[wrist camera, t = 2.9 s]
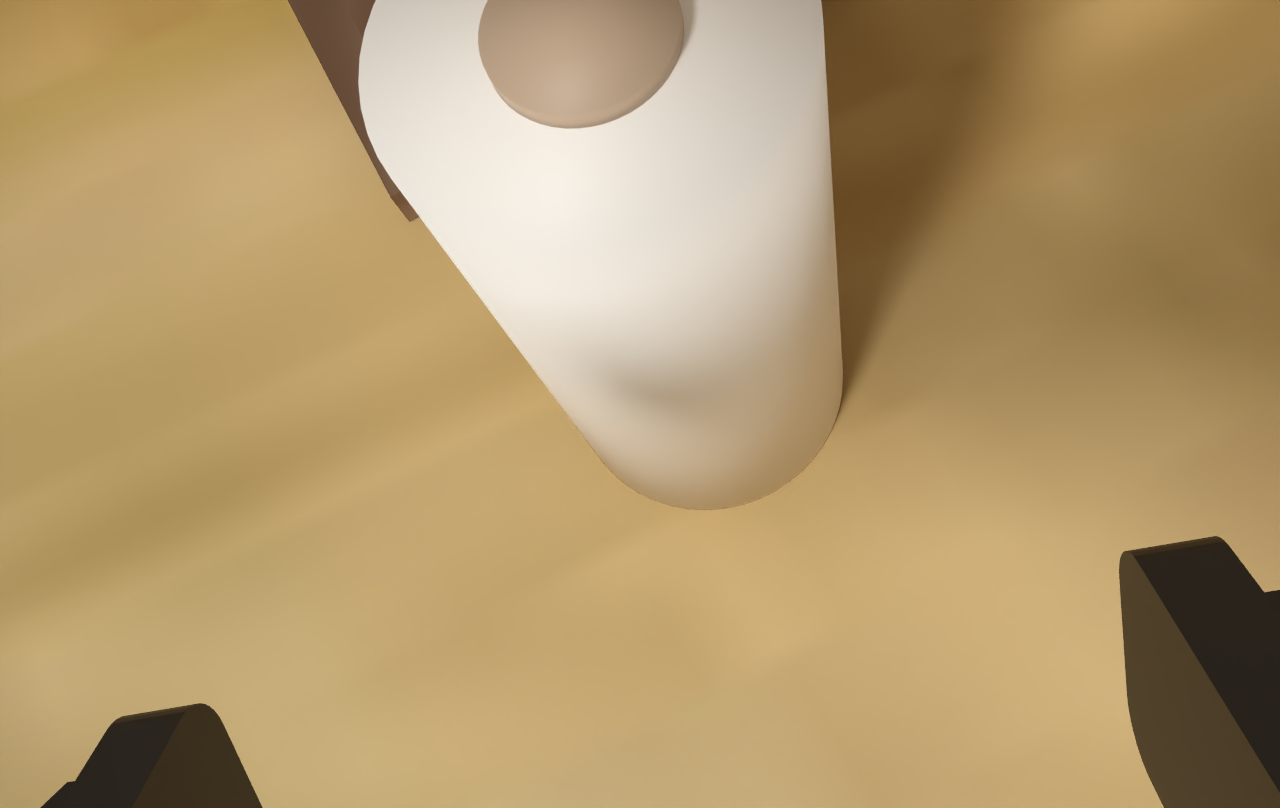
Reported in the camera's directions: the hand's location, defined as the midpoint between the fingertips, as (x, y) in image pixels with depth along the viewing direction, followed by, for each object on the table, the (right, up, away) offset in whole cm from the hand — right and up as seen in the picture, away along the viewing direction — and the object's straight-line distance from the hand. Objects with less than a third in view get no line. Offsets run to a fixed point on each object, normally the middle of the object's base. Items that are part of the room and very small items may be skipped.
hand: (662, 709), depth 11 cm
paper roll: (+1, +3, +15) cm, 15 cm away
